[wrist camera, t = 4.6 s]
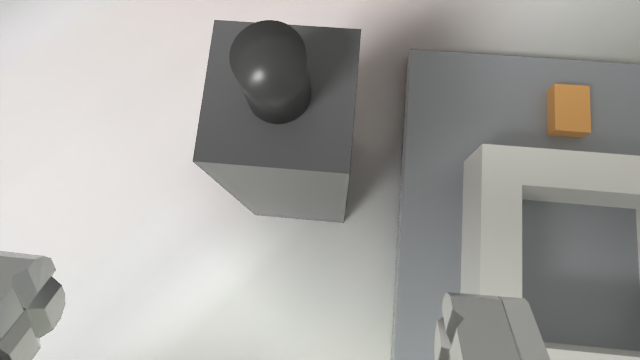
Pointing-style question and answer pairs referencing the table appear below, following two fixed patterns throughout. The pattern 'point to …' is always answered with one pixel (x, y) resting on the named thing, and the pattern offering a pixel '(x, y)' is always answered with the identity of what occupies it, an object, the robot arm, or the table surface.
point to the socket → (521, 198)
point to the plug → (280, 116)
